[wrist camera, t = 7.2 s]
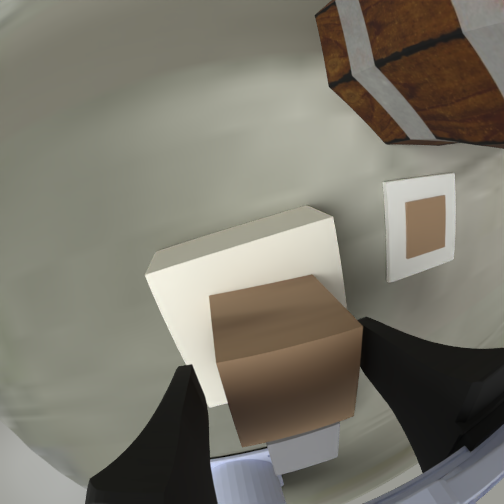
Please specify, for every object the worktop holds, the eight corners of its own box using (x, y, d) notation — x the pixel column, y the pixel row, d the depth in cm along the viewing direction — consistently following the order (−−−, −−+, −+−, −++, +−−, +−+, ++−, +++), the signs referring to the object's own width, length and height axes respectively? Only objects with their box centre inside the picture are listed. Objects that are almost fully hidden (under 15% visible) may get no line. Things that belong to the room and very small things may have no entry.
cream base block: (327, 327, 20) (352, 359, 16) (206, 367, 19) (209, 407, 16) (304, 204, 17) (333, 216, 13) (156, 249, 16) (144, 274, 13)
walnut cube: (316, 354, 16) (353, 416, 11) (228, 375, 15) (242, 447, 10) (312, 274, 14) (362, 326, 9) (208, 295, 13) (215, 363, 9)
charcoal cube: (317, 415, 23) (337, 456, 18) (263, 431, 22) (276, 475, 17) (315, 378, 21) (339, 423, 16) (253, 396, 20) (266, 445, 16)
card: (450, 258, 20) (455, 260, 19) (386, 280, 19) (391, 284, 19) (451, 172, 18) (456, 173, 17) (382, 181, 17) (387, 182, 16)
